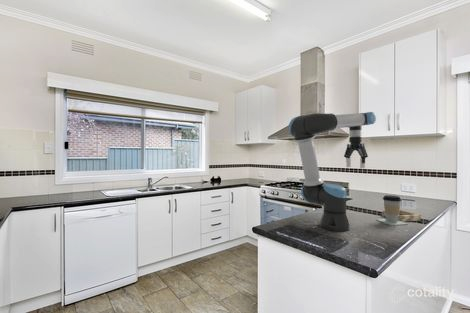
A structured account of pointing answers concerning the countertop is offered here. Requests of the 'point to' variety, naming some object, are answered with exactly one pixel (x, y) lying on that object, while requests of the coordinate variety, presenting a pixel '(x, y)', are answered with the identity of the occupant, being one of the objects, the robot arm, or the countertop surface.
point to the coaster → (392, 222)
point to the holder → (407, 216)
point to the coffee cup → (391, 208)
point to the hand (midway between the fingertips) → (355, 167)
